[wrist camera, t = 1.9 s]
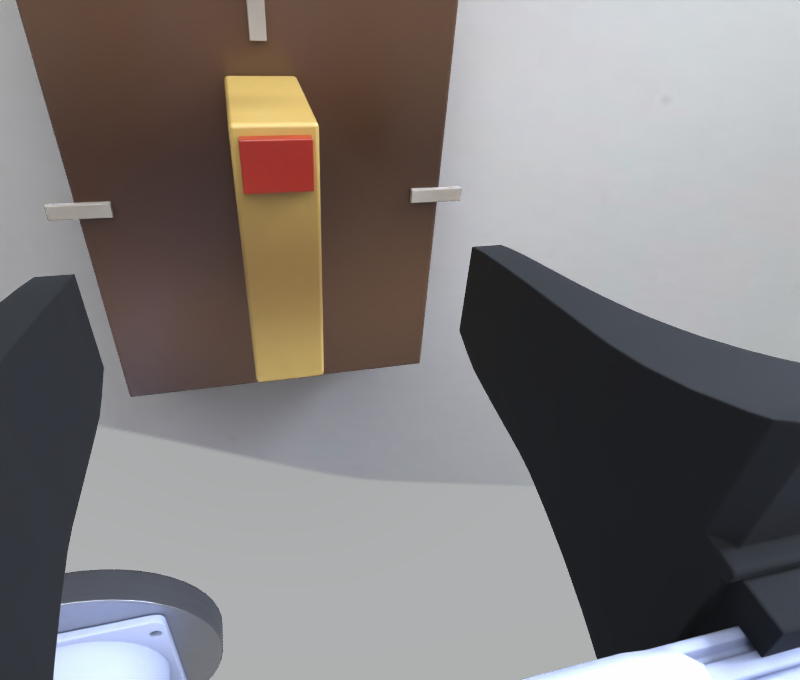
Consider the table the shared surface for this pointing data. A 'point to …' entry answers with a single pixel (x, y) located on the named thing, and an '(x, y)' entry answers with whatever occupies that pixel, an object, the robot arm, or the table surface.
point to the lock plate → (213, 174)
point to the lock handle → (278, 222)
